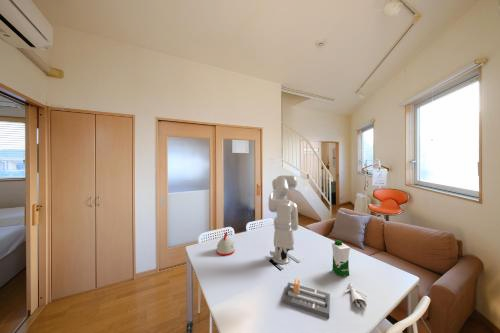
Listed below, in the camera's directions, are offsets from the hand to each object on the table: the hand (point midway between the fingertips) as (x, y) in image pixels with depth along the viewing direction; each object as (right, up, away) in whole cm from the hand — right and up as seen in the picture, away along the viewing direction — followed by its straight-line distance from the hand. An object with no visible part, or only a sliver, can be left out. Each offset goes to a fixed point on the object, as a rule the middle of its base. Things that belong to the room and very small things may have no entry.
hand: (283, 258), depth 98 cm
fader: (+6, -17, -2) cm, 18 cm away
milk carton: (+40, -19, +18) cm, 48 cm away
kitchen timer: (-38, -18, +47) cm, 63 cm away
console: (+11, -19, -5) cm, 22 cm away
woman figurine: (+37, -20, -3) cm, 42 cm away
